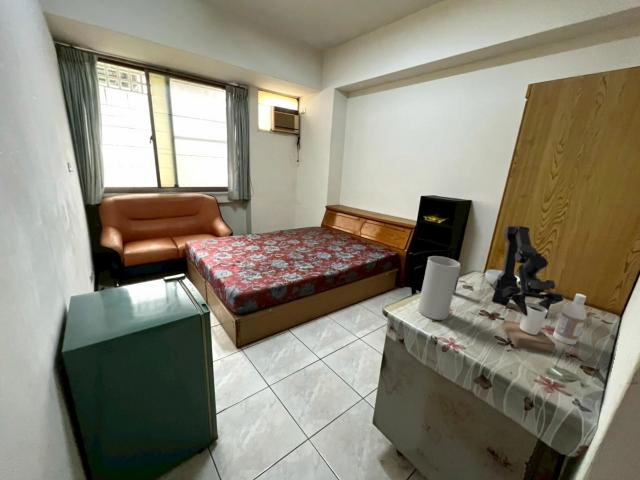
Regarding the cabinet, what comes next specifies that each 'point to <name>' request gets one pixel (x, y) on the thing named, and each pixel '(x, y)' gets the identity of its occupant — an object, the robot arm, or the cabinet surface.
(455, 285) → the container
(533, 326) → the white cup
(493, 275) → the cereal bowl
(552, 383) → the cabinet surface
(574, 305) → the bath foam
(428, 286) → the cylinder vase
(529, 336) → the walnut block
